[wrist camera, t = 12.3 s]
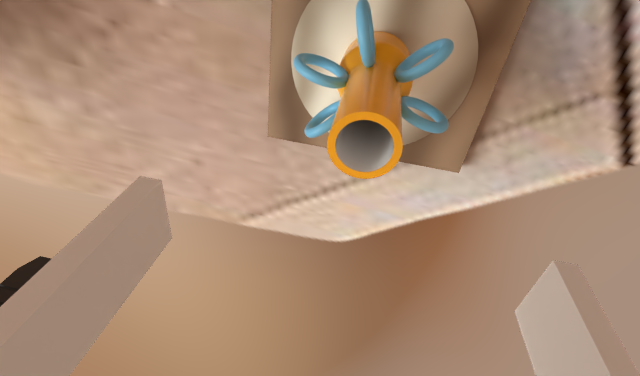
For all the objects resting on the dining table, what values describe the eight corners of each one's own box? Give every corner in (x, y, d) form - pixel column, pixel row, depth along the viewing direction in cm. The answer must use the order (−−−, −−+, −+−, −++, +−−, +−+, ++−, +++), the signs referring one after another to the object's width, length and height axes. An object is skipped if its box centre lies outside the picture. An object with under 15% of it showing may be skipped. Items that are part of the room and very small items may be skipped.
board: (271, 130, 38) (248, 165, 32) (288, -301, 21) (245, -397, 15) (456, 165, 37) (468, 209, 31) (633, -268, 20) (739, -360, 14)
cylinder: (474, 36, 28) (534, 106, 16) (409, 141, 34) (418, 250, 22) (334, -29, 27) (286, -5, 15) (293, 91, 33) (236, 176, 21)
